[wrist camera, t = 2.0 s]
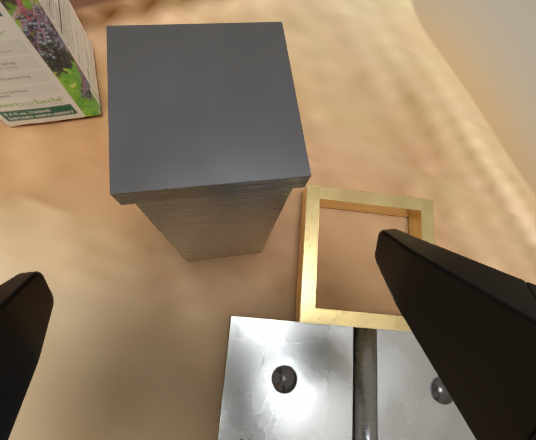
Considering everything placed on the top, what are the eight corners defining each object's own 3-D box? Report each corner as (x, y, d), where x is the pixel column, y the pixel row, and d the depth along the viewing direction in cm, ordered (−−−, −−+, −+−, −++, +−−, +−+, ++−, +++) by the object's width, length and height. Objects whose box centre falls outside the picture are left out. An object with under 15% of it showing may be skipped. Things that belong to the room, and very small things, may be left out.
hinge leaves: (508, 611, 16) (534, 639, 15) (199, 607, 15) (196, 638, 14) (470, 213, 22) (487, 206, 21) (245, 186, 21) (246, 177, 19)
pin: (264, 255, 20) (311, 175, 8) (183, 265, 19) (110, 194, 8) (253, 182, 21) (281, 21, 9) (177, 189, 20) (106, 26, 9)
